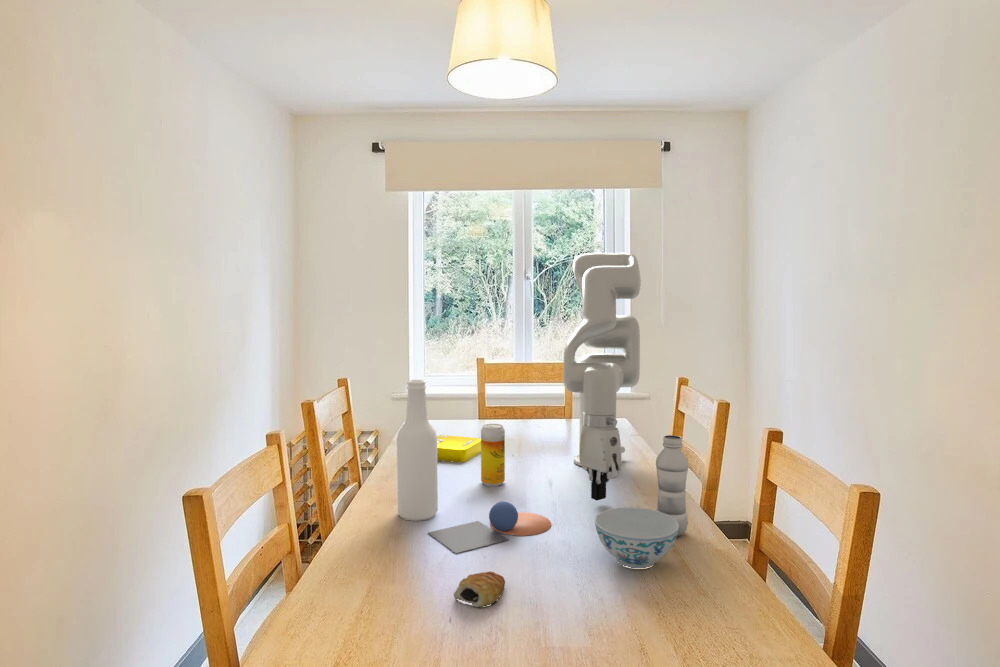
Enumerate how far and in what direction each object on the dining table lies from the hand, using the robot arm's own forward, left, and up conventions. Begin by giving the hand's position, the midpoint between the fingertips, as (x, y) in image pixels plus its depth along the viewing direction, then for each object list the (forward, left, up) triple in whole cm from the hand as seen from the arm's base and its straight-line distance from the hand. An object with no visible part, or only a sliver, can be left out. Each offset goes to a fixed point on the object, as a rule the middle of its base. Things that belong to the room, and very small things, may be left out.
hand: (598, 498), depth 147 cm
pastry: (+46, +22, -2) cm, 51 cm away
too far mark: (+35, 0, -2) cm, 35 cm away
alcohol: (+38, -17, -2) cm, 42 cm away
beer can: (+12, -27, -2) cm, 30 cm away
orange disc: (+22, 0, -2) cm, 22 cm away
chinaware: (+15, +27, -2) cm, 31 cm away
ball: (+27, +1, +2) cm, 27 cm away
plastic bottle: (-1, +21, -2) cm, 21 cm away
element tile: (+7, -58, -2) cm, 59 cm away
